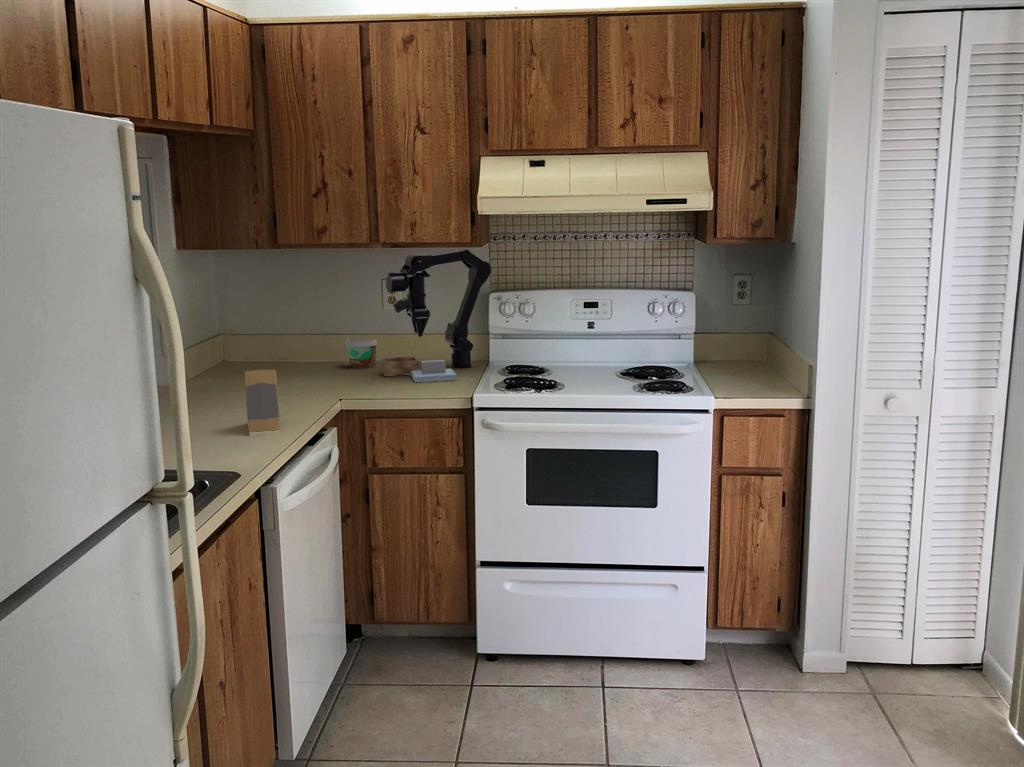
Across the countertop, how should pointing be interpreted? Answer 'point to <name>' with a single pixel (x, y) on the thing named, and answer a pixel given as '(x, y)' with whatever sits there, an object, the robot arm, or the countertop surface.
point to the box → (399, 365)
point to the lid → (433, 372)
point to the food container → (362, 352)
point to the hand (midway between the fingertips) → (418, 334)
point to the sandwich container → (262, 400)
